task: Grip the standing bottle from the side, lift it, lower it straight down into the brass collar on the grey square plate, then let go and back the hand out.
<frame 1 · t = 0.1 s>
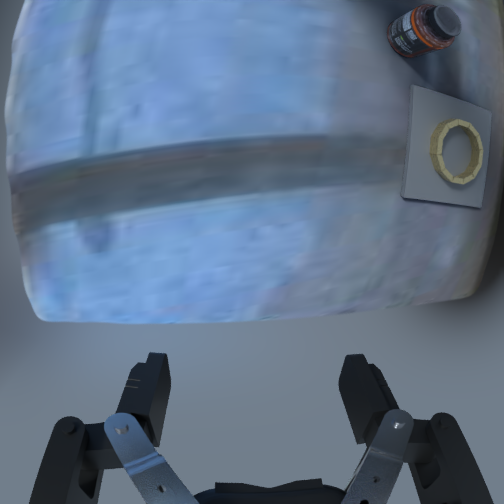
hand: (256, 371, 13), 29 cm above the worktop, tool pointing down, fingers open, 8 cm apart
supplement bottle: (403, 39, 32), on the worktop
grey square plate: (449, 149, 38), on the worktop
brass collar: (457, 151, 36), on the grey square plate, point 1 cm above the worktop
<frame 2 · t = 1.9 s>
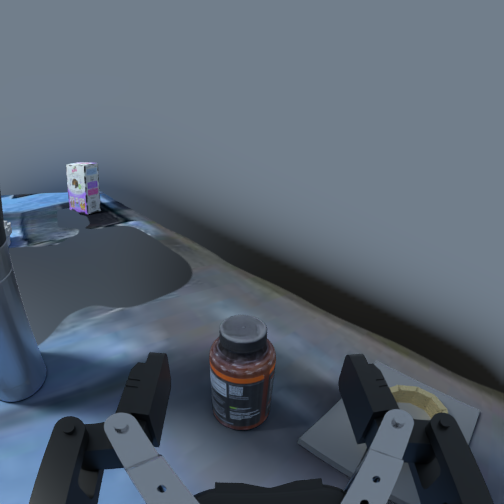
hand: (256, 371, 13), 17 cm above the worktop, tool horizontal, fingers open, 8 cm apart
supplement bottle: (240, 411, 30), on the worktop
candy box: (84, 210, 97), on the worktop
grey square plate: (400, 433, 26), on the worktop
brass collar: (407, 422, 26), on the grey square plate, point 1 cm above the worktop
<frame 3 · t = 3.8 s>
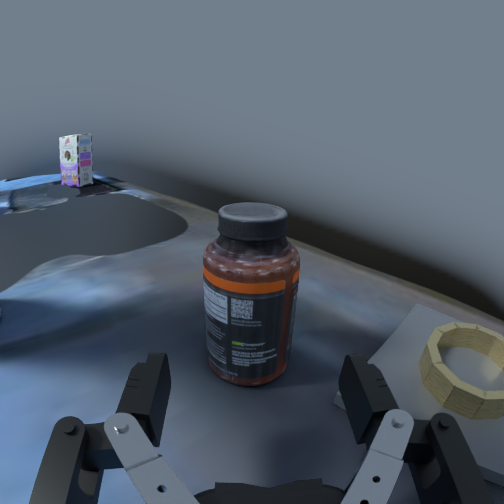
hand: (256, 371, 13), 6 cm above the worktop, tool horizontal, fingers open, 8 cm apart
supplement bottle: (247, 363, 22), on the worktop
candy box: (76, 185, 90), on the worktop
grey square plate: (465, 385, 19), on the worktop
brass collar: (475, 366, 18), on the grey square plate, point 1 cm above the worktop
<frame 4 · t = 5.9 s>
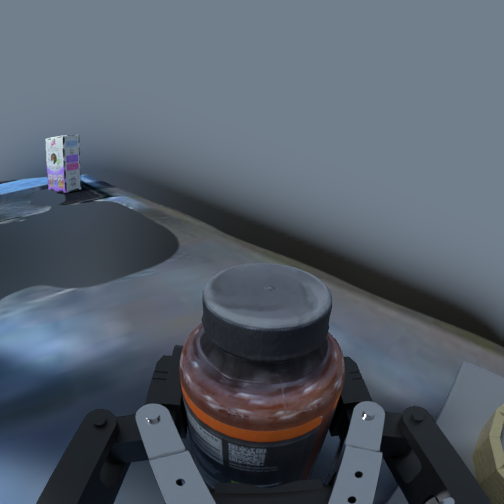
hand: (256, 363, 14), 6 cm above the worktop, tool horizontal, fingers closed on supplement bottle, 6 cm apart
supplement bottle: (252, 470, 14), on the worktop, touching gripper
candy box: (64, 190, 81), on the worktop
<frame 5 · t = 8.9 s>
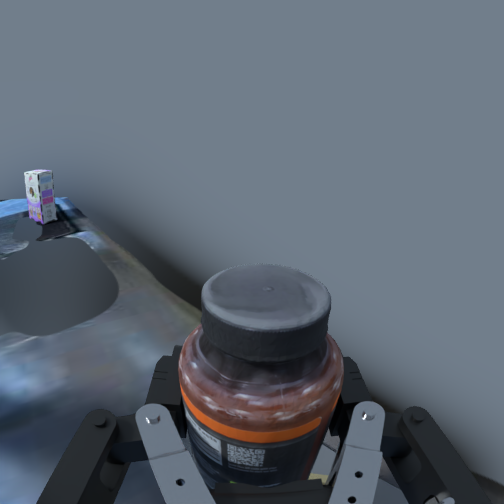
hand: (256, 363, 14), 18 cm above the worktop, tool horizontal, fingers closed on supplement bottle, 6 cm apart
supplement bottle: (251, 471, 14), point 12 cm above the worktop, touching gripper
candy box: (42, 219, 88), on the worktop
when the fingers open (8 cm above the worktop, at t = 12.2 s): supplement bottle drops 1 cm, resting on grey square plate.
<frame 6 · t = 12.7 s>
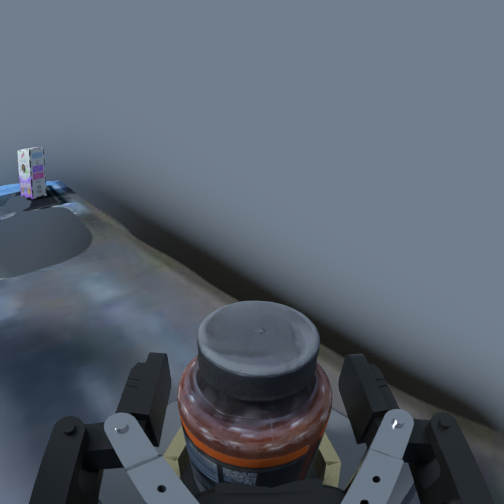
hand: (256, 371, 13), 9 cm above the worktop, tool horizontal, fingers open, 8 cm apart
supplement bottle: (248, 482, 14), point 1 cm above the worktop, touching grey square plate
candy box: (33, 196, 86), on the worktop
grey square plate: (250, 486, 15), on the worktop
brass collar: (251, 473, 14), on the grey square plate, point 1 cm above the worktop
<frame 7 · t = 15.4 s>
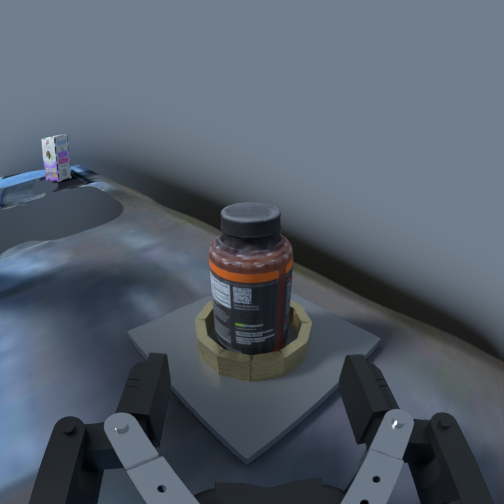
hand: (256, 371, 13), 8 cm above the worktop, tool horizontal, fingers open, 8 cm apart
supplement bottle: (251, 342, 26), point 1 cm above the worktop, touching grey square plate
candy box: (58, 179, 98), on the worktop
grey square plate: (252, 348, 26), on the worktop
brass collar: (253, 331, 26), on the grey square plate, point 1 cm above the worktop
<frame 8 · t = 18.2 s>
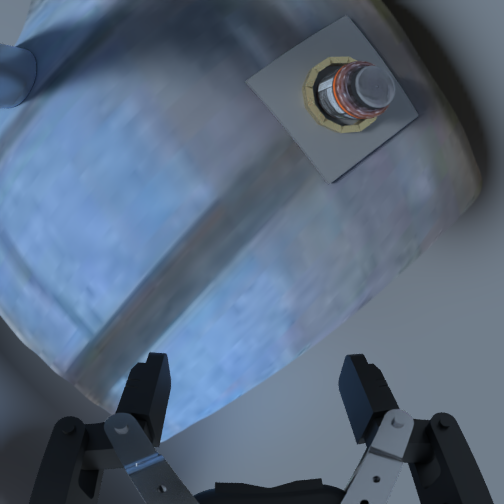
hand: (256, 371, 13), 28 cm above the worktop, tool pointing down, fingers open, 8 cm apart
supplement bottle: (338, 96, 33), point 1 cm above the worktop, touching grey square plate
grey square plate: (337, 95, 34), on the worktop
brass collar: (342, 94, 32), on the grey square plate, point 1 cm above the worktop
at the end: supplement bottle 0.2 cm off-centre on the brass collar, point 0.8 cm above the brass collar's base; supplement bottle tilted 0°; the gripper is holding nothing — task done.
